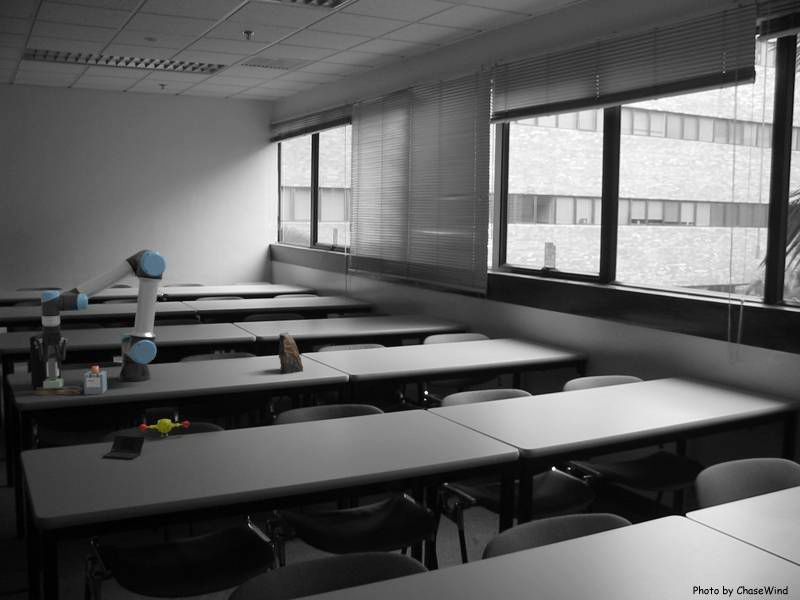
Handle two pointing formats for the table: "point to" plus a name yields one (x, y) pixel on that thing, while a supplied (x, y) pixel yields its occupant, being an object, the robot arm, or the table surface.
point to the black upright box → (39, 362)
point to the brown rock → (289, 355)
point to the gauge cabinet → (95, 382)
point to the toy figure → (164, 426)
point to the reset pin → (95, 370)
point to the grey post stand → (52, 376)
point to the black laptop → (125, 448)
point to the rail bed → (57, 390)
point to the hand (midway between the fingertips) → (53, 375)
